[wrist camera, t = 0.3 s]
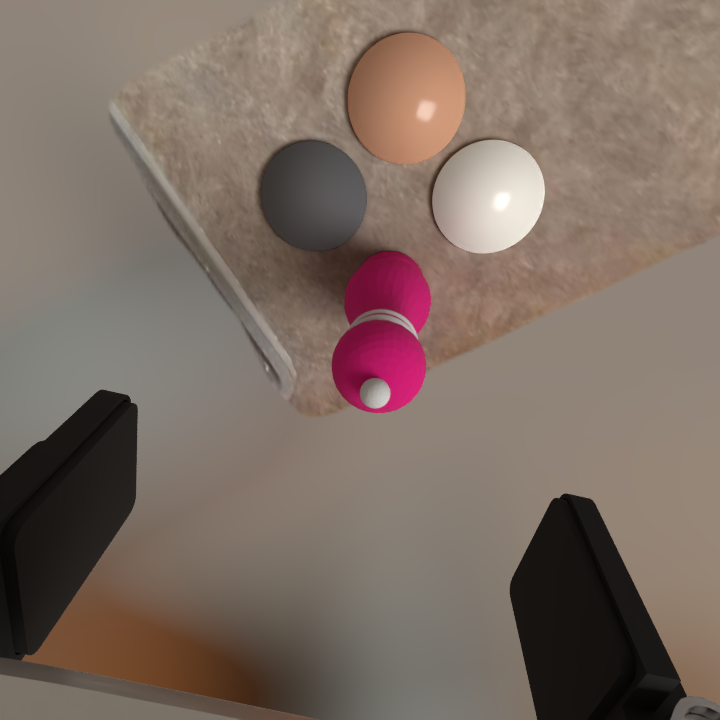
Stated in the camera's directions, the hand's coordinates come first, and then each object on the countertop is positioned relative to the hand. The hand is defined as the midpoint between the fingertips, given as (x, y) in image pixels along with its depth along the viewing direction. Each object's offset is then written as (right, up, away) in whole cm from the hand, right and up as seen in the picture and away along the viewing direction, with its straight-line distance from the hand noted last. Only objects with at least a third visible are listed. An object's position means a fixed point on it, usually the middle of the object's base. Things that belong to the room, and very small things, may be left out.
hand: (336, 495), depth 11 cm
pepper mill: (+3, +10, +35) cm, 37 cm away
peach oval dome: (+4, +23, +28) cm, 37 cm away
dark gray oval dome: (-3, +17, +32) cm, 37 cm away
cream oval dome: (+11, +17, +31) cm, 37 cm away
